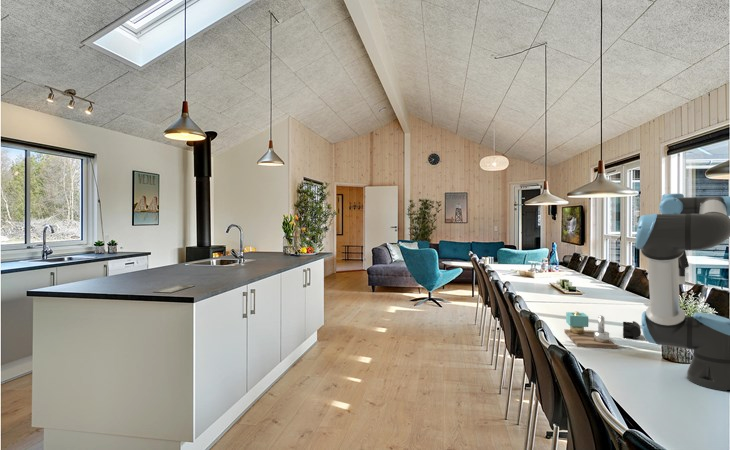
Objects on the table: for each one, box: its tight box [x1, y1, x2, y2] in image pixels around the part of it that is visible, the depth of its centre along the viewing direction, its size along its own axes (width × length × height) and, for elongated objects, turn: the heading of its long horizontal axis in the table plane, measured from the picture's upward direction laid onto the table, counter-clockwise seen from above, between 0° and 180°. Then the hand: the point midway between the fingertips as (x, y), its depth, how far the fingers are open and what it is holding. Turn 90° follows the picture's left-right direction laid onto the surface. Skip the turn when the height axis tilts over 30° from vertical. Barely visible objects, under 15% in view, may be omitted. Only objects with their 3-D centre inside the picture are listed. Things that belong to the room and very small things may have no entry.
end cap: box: [622, 320, 642, 340], centre depth 201 cm, size 10×7×7 cm
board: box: [563, 328, 618, 350], centre depth 197 cm, size 24×16×2 cm, turn 167°
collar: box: [565, 311, 589, 328], centre depth 204 cm, size 8×8×5 cm
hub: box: [569, 311, 585, 334], centre depth 204 cm, size 6×6×10 cm
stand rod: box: [593, 315, 610, 343], centre depth 190 cm, size 6×6×12 cm
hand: (672, 281), depth 174 cm, fingers open, 13 cm apart
